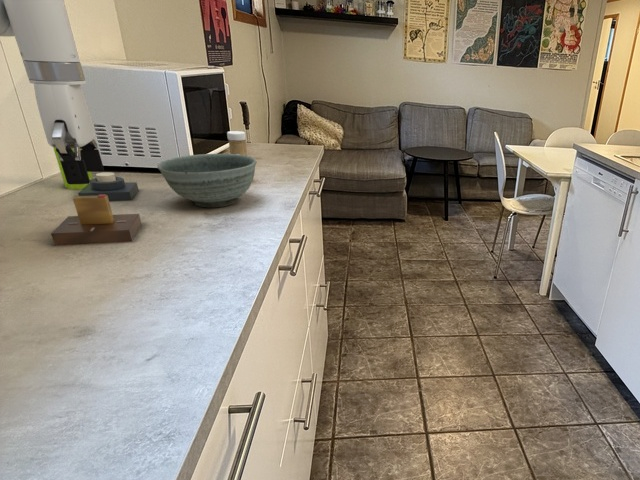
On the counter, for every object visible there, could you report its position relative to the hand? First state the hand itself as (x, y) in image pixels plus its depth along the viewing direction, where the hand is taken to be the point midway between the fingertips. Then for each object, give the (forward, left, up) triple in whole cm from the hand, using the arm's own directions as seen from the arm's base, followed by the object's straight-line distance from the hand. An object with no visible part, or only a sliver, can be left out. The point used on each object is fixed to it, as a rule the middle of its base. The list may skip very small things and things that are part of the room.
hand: (87, 177), depth 86 cm
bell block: (-4, +28, -11) cm, 31 cm away
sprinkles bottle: (+25, +40, -11) cm, 48 cm away
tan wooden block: (0, 0, -9) cm, 9 cm away
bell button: (-4, +28, -8) cm, 29 cm away
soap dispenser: (-12, +38, -11) cm, 42 cm away
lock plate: (0, 0, -11) cm, 11 cm away
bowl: (+19, +20, -11) cm, 30 cm away
